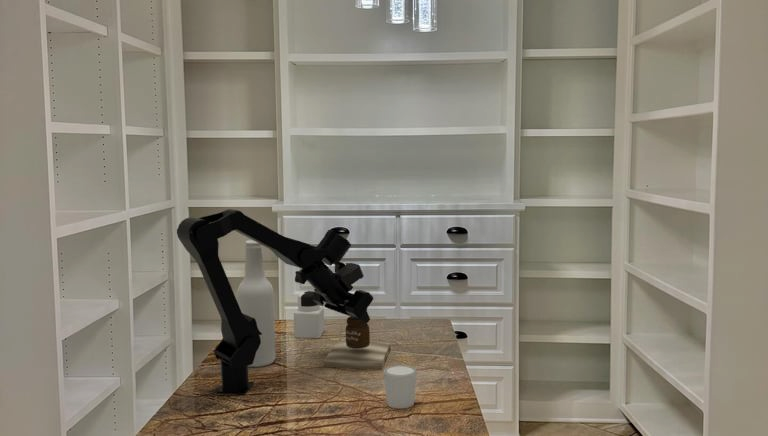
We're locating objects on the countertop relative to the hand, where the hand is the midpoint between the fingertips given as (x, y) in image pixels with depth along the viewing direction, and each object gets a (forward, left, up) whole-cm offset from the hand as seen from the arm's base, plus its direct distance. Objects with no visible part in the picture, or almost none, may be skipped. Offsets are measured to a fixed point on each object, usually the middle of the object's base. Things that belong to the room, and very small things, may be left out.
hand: (361, 318), depth 166 cm
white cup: (-29, -13, -10) cm, 33 cm away
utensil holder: (-1, +1, -7) cm, 7 cm away
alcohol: (-7, +25, -10) cm, 28 cm away
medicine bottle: (+17, +18, -10) cm, 27 cm away
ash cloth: (-1, +1, -10) cm, 10 cm away
